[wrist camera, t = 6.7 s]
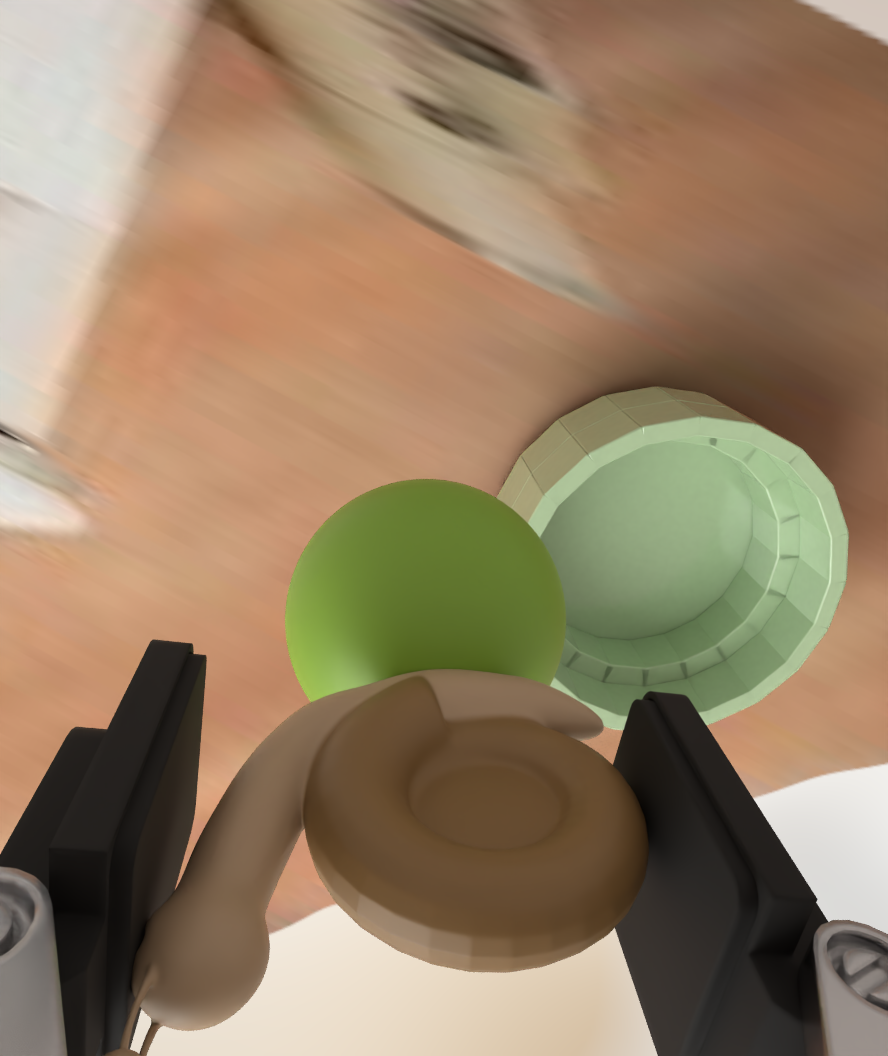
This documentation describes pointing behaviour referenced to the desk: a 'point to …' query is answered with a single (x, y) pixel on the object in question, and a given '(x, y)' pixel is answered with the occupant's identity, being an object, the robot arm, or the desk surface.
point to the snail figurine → (411, 766)
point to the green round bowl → (681, 550)
